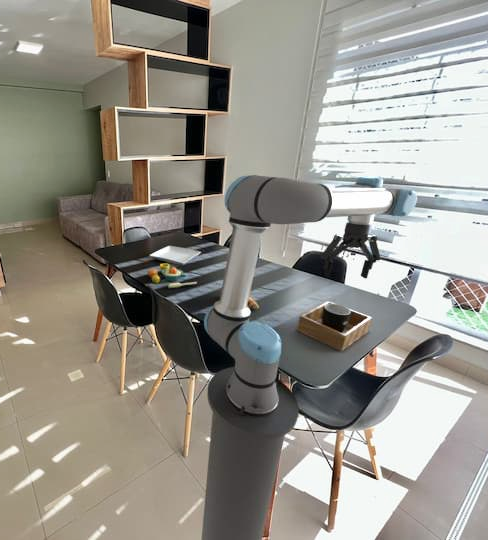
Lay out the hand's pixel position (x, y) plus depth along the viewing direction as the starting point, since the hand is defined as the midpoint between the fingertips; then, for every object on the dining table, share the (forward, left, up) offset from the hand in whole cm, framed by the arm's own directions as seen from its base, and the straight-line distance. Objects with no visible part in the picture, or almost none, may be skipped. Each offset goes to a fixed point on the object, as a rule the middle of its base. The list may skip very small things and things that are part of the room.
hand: (345, 276), depth 111 cm
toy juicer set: (-26, +78, -23) cm, 85 cm away
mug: (-2, -1, -22) cm, 23 cm away
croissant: (-15, +37, -23) cm, 46 cm away
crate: (-2, -1, -23) cm, 23 cm away
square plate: (+2, +107, -23) cm, 110 cm away
